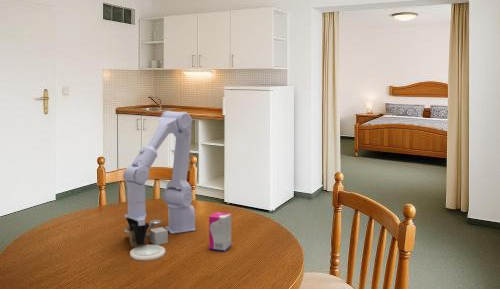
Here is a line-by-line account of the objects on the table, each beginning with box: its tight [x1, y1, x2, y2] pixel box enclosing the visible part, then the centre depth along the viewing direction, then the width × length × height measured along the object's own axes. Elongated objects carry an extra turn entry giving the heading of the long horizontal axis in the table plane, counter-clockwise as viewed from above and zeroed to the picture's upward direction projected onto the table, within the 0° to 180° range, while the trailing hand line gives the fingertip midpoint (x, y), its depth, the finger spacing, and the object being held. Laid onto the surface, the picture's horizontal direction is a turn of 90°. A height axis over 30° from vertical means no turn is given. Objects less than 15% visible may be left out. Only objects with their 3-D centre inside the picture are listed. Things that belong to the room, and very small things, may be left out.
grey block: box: [149, 226, 169, 246], centre depth 155 cm, size 4×4×4 cm
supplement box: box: [208, 211, 232, 253], centre depth 150 cm, size 6×6×12 cm
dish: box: [129, 244, 166, 262], centre depth 145 cm, size 11×11×1 cm
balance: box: [124, 219, 162, 239], centre depth 161 cm, size 13×4×5 cm, turn 116°
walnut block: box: [128, 230, 147, 249], centre depth 153 cm, size 4×4×4 cm
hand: (137, 240), depth 153 cm, fingers open, 7 cm apart
